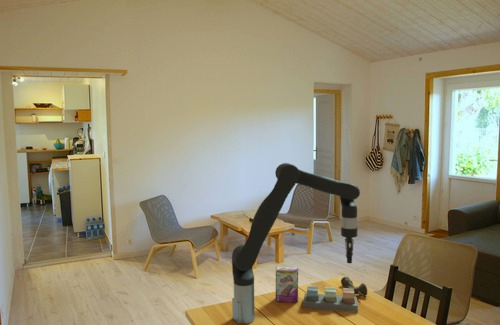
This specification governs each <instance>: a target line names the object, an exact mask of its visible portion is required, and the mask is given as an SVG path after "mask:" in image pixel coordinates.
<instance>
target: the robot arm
mask: <svg viewBox="0 0 500 325" xmlns="http://www.w3.org/2000/svg"><path fill="white" fill-rule="evenodd" d="M275 177H276V182H275V184H274V187H273V189H272V190H271V192H270V193H268V195H267V196H266V197H265V198H264V199H263V201H262V202H261V203H260V205H259V206H258V208H257V210H256V212H255V214H254V216H253V219H252V221H251V226H250V229H249V234H248V237H247V239H246V241H245V242H244V244H240V245H238V246H237V247H235V248H234V249H233V251H232V255H231V267H232V268H231V270H232V278H233V298H231V305H232V309H231V310H232V312H231V313H232V319H233V320H234V321H235V322H236V324H249V323H253V322H254V321H255V318H256V317H255V315H256V313H255V309H256V308H255V274H254V271H253V267H254V265H255V263H257V262H256V261H257V260H258V256H259V255H260V254H259V253H260V251H261V248H262V246H263V245H264V243H265V241H266V239H267V237H268V235H269V234H270V231H271V229H272V227H273V226H274V224H275V222H276V220H277V219H278V217H279V214H280V212H281V210H282V209H283V205H284V204H285V203H286V202H285V201H286V200H287V198H288V196H289V195H290V193H291V191H292V190H293V188H294V187H295V185H296V184H297V185H301V186H305V187H308V188H310V189H313V190H316V191H320V192H322V193H325V194H326V193H327V194H330V195H335V196H338V197H339V200H340V205H341V220H340V236H342V237H343V238H344V247H345V257H346V263H347V264H352V263H353V256H354V253H353V251H354V244H355V243H354V239H353V238H357V237H358V226H359V224H358V207H357V204H356V203H355V200H357V199H358V198H359V197H360V195H361V190H360V189H359V187H358V186H357V185H355V184H352V183H349V182H343V181H340V180H337V179H335V178H332V177H327V176H324V175H321V174H315V173H313V172H307V171H303V170H301V169H299V168H298V167H297V166H296V165H295V164H291V163H288V162H283V163H281V164H279V165H278V166H277V167H276V168H275Z"/></svg>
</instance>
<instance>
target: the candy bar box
mask: <svg viewBox="0 0 500 325" xmlns="http://www.w3.org/2000/svg"><path fill="white" fill-rule="evenodd" d="M275 302H277V303H278V302H280V303H299V267H292V266H289V267H288V266H276V267H275Z"/></svg>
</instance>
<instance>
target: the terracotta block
mask: <svg viewBox="0 0 500 325" xmlns="http://www.w3.org/2000/svg"><path fill="white" fill-rule="evenodd" d="M342 296H343V303H354V296H355V295H354V289H351V288H346V287H343V288H342Z"/></svg>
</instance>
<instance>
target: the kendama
mask: <svg viewBox="0 0 500 325" xmlns="http://www.w3.org/2000/svg"><path fill="white" fill-rule="evenodd" d="M340 284H341V286H344V288H351V289H354V296H355V295H359V296H362V297H363V296H367V295H368V287H367V285H366V284H365V283H361V284H360V285H359V286H354V283H353V281H352V280H351V279H350V278H349V277H348V276H343V277H342V278H341V279H340Z"/></svg>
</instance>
